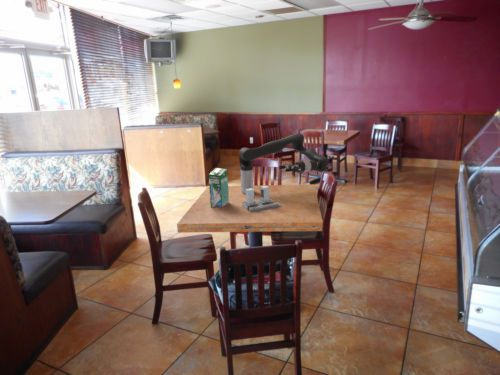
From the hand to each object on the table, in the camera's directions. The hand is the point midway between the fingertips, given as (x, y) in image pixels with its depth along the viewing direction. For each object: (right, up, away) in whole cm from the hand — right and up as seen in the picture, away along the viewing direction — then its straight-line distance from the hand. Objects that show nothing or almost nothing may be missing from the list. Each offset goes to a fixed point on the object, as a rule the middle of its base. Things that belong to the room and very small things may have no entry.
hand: (282, 168), depth 240 cm
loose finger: (-12, -24, -4) cm, 27 cm away
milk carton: (-42, -25, 0) cm, 49 cm away
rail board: (-14, -26, -7) cm, 31 cm away
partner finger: (-22, -25, -8) cm, 34 cm away
